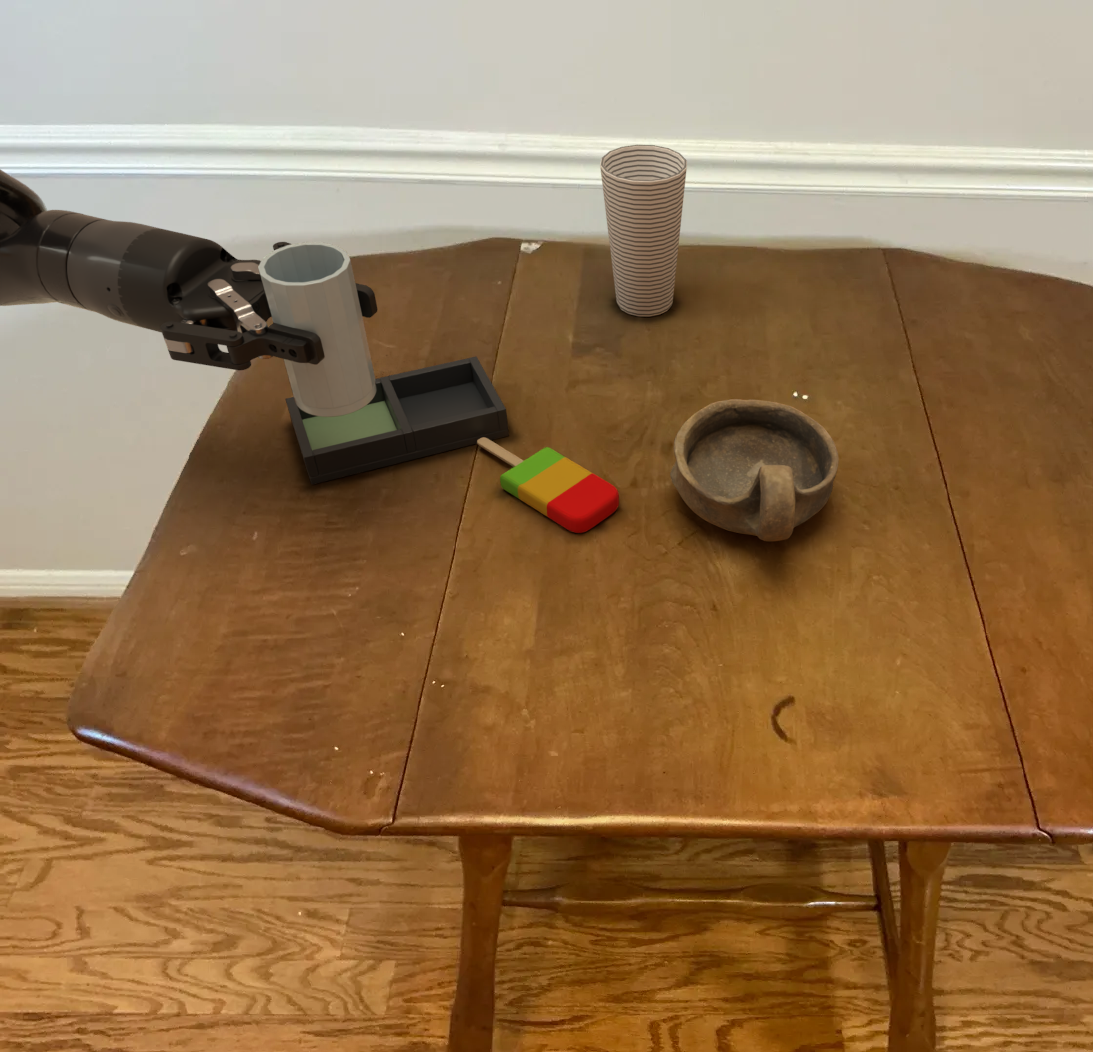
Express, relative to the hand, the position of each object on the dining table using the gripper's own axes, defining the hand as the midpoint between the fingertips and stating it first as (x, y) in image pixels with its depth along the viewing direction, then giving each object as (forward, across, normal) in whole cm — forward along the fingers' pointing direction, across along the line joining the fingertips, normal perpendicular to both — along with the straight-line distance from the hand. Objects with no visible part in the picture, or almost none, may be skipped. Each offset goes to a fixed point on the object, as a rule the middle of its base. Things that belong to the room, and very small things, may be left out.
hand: (346, 325), depth 76 cm
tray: (-5, +10, +18) cm, 21 cm away
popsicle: (+10, +8, +18) cm, 22 cm away
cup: (+7, +39, +18) cm, 44 cm away
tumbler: (-2, 0, +6) cm, 7 cm away
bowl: (+28, +11, +18) cm, 35 cm away
